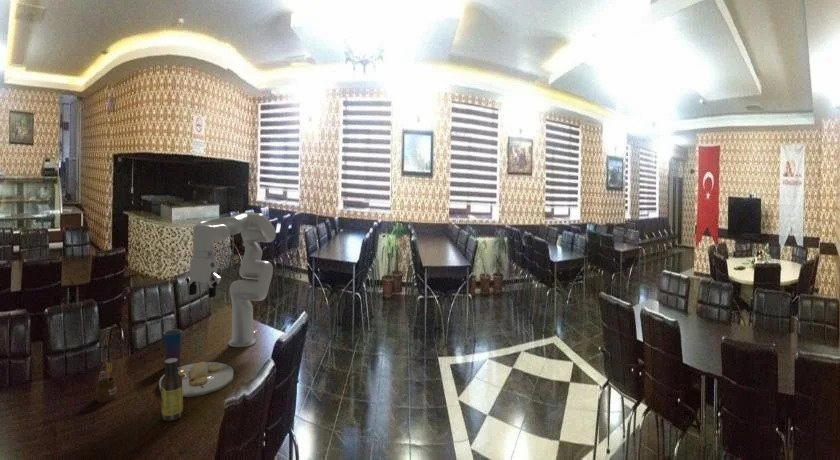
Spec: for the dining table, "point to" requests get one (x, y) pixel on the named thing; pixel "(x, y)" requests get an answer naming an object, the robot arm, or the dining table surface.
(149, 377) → the dining table surface
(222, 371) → the white round plate
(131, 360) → the dining table surface
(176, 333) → the cup
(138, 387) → the dining table surface
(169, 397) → the sauce bottle
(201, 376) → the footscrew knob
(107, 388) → the utensil holder
